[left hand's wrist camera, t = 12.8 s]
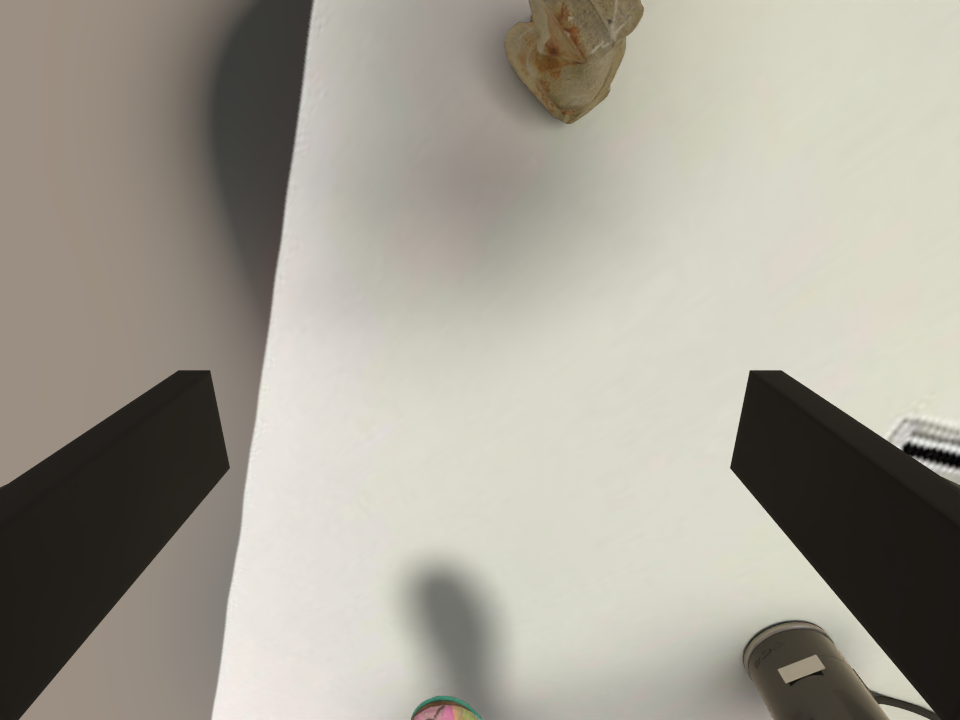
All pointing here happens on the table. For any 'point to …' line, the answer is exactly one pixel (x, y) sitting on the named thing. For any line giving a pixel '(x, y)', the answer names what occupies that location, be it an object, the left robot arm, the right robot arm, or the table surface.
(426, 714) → the ballet flat
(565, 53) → the sculpture
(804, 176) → the table surface
